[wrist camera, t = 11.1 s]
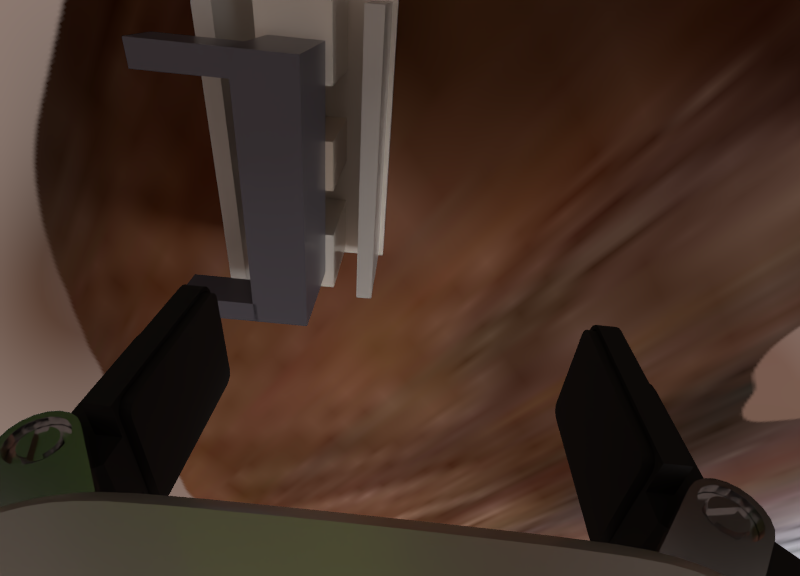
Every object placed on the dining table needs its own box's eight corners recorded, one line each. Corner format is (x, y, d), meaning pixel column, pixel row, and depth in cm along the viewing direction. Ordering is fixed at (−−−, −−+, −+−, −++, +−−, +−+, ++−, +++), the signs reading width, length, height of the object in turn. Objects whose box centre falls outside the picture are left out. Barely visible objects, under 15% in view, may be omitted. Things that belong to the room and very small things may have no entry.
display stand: (399, -8, 28) (392, -7, 22) (383, 249, 38) (375, 304, 31) (237, -23, 28) (179, -27, 22) (262, 239, 38) (229, 292, 31)
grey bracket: (325, 40, 24) (299, 54, 19) (325, 272, 31) (307, 326, 26) (185, 26, 24) (121, 36, 19) (219, 261, 31) (181, 314, 26)
